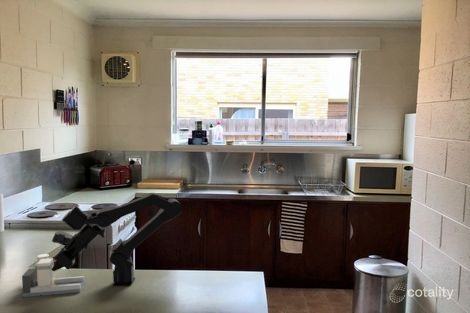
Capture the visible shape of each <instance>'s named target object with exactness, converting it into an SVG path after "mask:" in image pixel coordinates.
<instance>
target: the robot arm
mask: <svg viewBox="0 0 470 313" xmlns="http://www.w3.org/2000/svg"><path fill="white" fill-rule="evenodd" d="M151 206H155V207H157V208H159V210H158V212H157V213H156V214H155V215H154V216H153V217H152V218H150V220H148V221H147V222H146V223H145V224H144V225H142V226H141V227H140V228H139V229H138V230H136V232H135V233H134V234H132V235H131V236H129V238H126V239H125V240H122V238H119V239H118V240H117V241H116V243H114V244H112V245H111V249H110V250H109V261H110V262H111V264H112V265H114V267H113V268H114V270H113V271H112V275H113V276H112V278H113V279H112V280H113V286H117V287H118V286H132V284H133V283H134V281H135V280H136V277H135V276H134V274H135V273H134V264H133V259H132V256H131V255H132V253H133V252H134V250H135V249H136V248H137V247H138V246H140V244H142V243H144V241H145V240H146V239H147V238H148V237H150V236H151V235H152V234H153V233H154V232H155V231H156V230H158V229H159V228H160V227H161V226H162V225H163V224H165V223H167V222H170V221H172V220H173V219H175V218H176V217H179V216H180V214H181V213H182V212H183V205H182V204H181V203H180V202H179V201H178V200H177V199H176V198H169V199H168V198H167V197H165V196H162V195H160V194H157V193H155V192H150V193H148V194H146V195H143V196H141V197H139V198H136V199H133V200H130V201H129V202H128V201H127V202H125V203H123V204H120V205H116V206H115V205H114V206H108V207H103V208H100V209H98V210H97V212H91V213H86V212H84V211H83V210H82V209H81V208H80V207H79V206H78V205H76V206H74V207H73V208H72V209H70V210H69V211H68V212H67V213H66V214H64V216H63V218H62V219H61V222H63V223H64V224H66V225H67V226H68V227H69V228H70V229H72V230H74V231H75V230H76V231H78V230H79V231H78V232H77V233H75V234H74V235H73V234H70V233H68V232H65V231H63V230H59V229H58V230H56V232H55V233H54V235H53V237H52V240H51V242H53V243H54V244H59V245H62V246H63V247H62V248H61V249H60V250H59V251H58V253H56V255H55V256H54V258H53V259H54V260H55V261H56V262H55V263H54V266H53V268H52V269H51V270H52V271H54V272H55V271H59V270H60V269H64V268H65V269H66V270H70V269H72V267H73V265H74V264H75V263H76V258H78V257H79V256H80V255H81V254H82V252H83V251H84V250H86V249H87V248H88V247H89V245H90V244H91V243H92V242H93V241H94V240H95V239H97V237H98V236H100V237H101V238H103V239H104V238H105V237H106V228H107V227H109V226H110V225H113V224H115V223H116V222H117V221H118V220H120V219H121V218H123V217H125V216H128V215H131V214H133V213H136V212H138V211H140V210H143V209H145V208H148V207H151Z"/></svg>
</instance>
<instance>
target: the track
mask: <svg viewBox="0 0 470 313" xmlns="http://www.w3.org/2000/svg"><path fill="white" fill-rule="evenodd" d="M21 280H22V281H21V282H22V298H28V297H29V298H30V297H39V296H40V295H42V296H51V295H52V294H54V295H62V294H63V295H64V294H74V293H81V291H82V289H83V287H84V285H85V276H84V275H82V276H80V275H79V276H70V277H69V276H66V277H59V278H58V277H54V284H53V285H52V286H44V287H38V280H37V270H36V268H35V267H33V268H31V267H30V268H28V269H27V270H26V271H25V272H24V273H23V274H22V276H21ZM52 296H53V295H52Z"/></svg>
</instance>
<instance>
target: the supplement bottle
mask: <svg viewBox="0 0 470 313" xmlns="http://www.w3.org/2000/svg"><path fill="white" fill-rule="evenodd" d="M47 258H50V255H49V254H48V253H43V254H42V253H41V254H38V255H36V260H37V261H36V262H35V263H34V264H35V267H34V268H36V270H37V263H38V262H39V261H40V260H41V259H47ZM37 280H38V276H37Z"/></svg>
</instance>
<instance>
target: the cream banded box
mask: <svg viewBox="0 0 470 313" xmlns="http://www.w3.org/2000/svg"><path fill="white" fill-rule="evenodd" d="M54 262H55V261H54V258H53V257H49V258H47V259H41V260H40V261H39V262H38V263H37V276H38V287H44V286H52V285H53V284H54V278H55V271H52V270H51V269H52V268H53V266H54V265H55V263H54Z"/></svg>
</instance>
